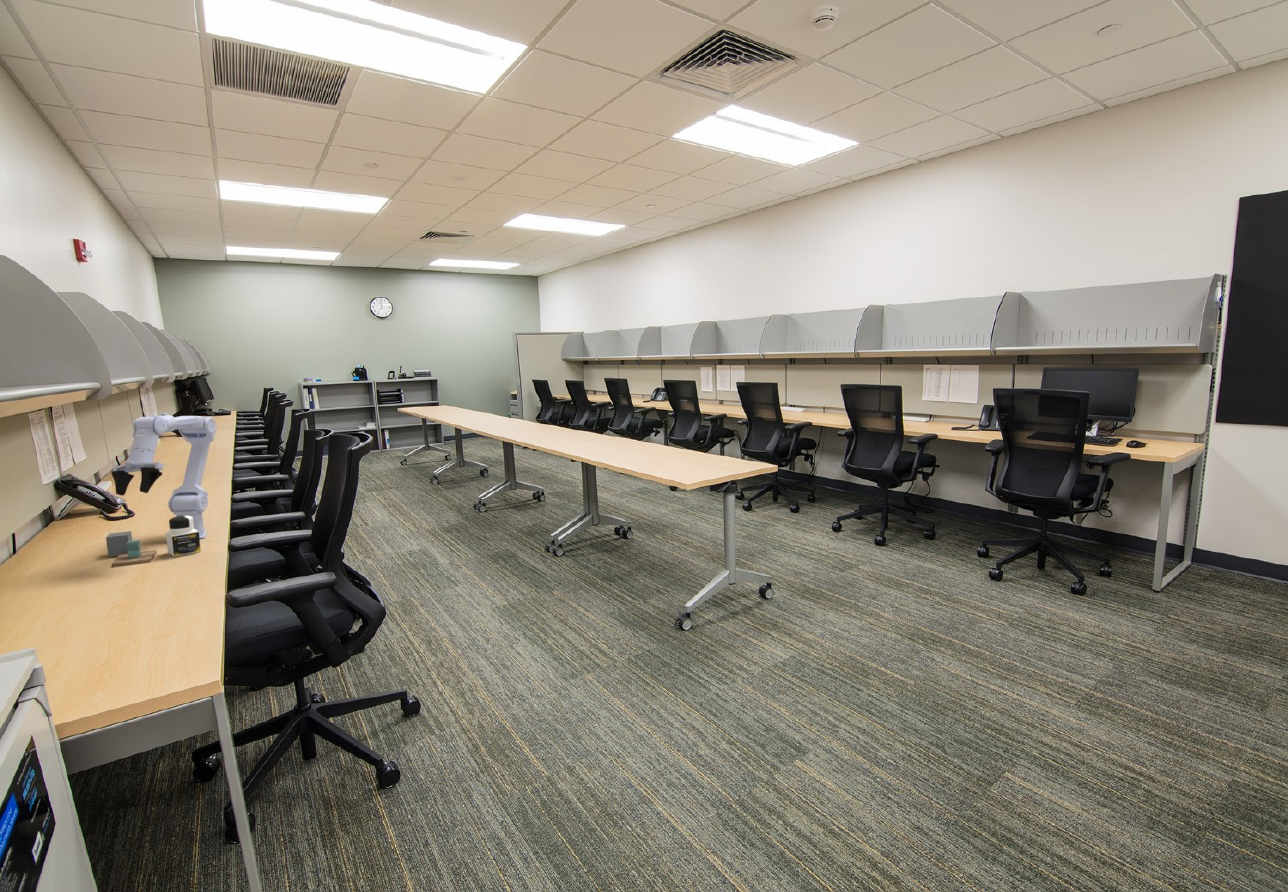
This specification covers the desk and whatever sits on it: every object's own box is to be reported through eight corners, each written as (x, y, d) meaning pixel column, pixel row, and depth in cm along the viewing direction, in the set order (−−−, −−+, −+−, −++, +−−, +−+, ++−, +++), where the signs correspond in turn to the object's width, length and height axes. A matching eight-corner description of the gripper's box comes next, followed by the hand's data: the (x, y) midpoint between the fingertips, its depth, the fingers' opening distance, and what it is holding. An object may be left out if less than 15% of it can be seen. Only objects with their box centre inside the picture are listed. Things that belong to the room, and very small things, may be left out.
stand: (119, 557, 179) (117, 539, 178) (156, 553, 184) (154, 535, 183) (112, 567, 171) (109, 548, 170) (150, 561, 176) (148, 543, 175)
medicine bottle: (173, 557, 180) (170, 520, 179) (167, 552, 184) (163, 517, 183) (201, 551, 186) (197, 516, 184) (194, 547, 190) (190, 513, 189)
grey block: (112, 552, 184) (109, 533, 183) (133, 550, 187) (131, 531, 186) (108, 557, 179) (105, 537, 179) (130, 554, 182) (127, 534, 181)
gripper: (108, 450, 174) (96, 492, 169) (153, 445, 173) (142, 487, 168) (129, 457, 180) (118, 498, 175) (173, 453, 180) (163, 493, 175)
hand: (131, 493), depth 172 cm, fingers open, 7 cm apart
